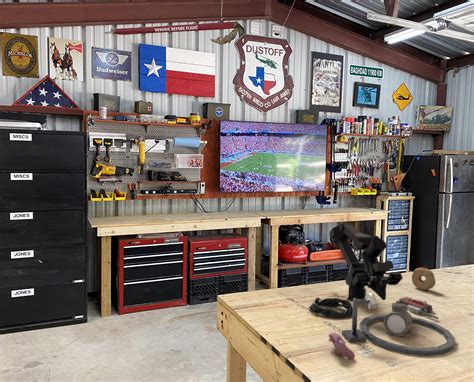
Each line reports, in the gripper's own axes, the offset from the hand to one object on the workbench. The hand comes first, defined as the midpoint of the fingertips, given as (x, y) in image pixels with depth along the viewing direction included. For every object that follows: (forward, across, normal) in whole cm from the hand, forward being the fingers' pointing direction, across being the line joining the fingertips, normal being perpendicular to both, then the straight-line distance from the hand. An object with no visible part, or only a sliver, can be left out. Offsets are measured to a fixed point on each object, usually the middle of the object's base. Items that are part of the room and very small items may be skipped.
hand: (384, 299), depth 158 cm
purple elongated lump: (+22, -28, -12) cm, 38 cm away
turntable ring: (+15, 0, -5) cm, 16 cm away
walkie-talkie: (+2, +19, +10) cm, 22 cm away
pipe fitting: (+13, 0, -2) cm, 13 cm away
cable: (-1, -17, +12) cm, 21 cm away
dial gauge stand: (+15, -17, -5) cm, 24 cm away
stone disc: (-16, +38, +28) cm, 50 cm away
